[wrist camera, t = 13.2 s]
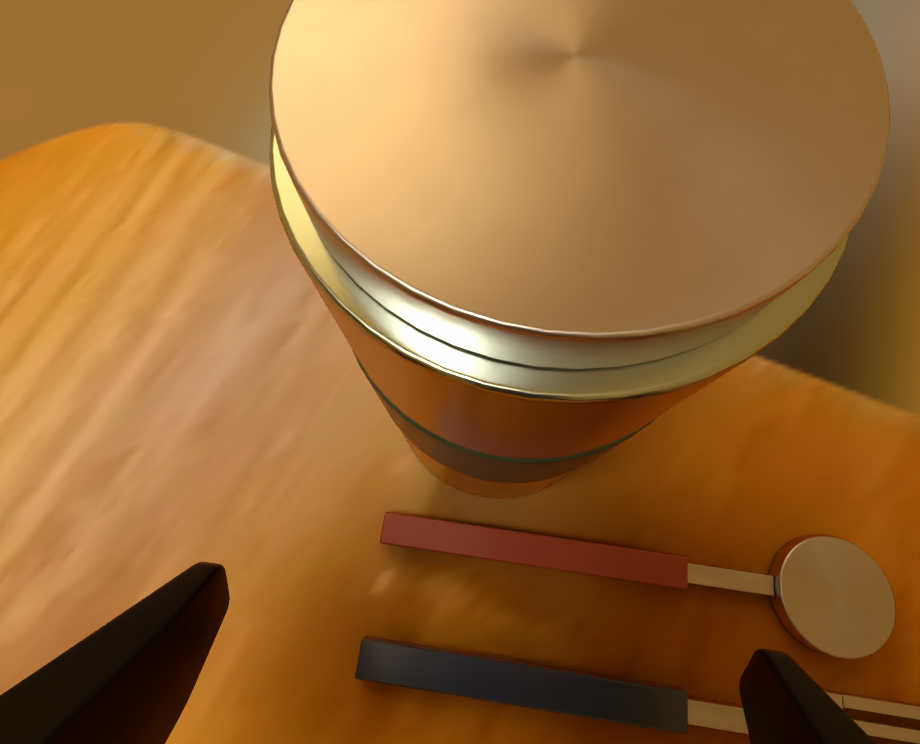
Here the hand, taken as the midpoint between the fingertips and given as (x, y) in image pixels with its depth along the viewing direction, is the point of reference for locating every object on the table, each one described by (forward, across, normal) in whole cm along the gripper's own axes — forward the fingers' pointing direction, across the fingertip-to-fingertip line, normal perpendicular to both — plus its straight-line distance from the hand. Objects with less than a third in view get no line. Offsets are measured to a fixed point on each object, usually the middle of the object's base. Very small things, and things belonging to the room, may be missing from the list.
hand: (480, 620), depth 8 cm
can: (+9, 0, 0) cm, 9 cm away
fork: (+3, -6, +6) cm, 9 cm away
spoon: (+6, -5, +4) cm, 9 cm away
